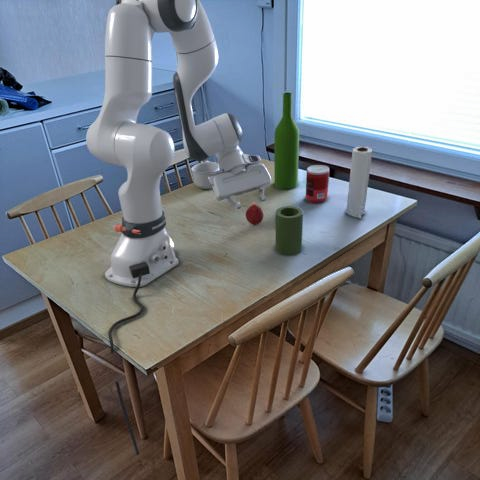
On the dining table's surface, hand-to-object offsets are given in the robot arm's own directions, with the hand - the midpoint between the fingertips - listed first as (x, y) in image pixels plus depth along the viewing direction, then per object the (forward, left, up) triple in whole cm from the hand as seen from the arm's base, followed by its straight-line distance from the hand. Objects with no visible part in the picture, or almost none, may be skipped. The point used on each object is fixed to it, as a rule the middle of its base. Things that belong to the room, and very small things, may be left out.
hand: (251, 204), depth 151 cm
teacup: (+24, +30, -7) cm, 39 cm away
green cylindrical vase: (-12, -18, -6) cm, 22 cm away
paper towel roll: (+19, -30, -7) cm, 36 cm away
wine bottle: (+34, +1, -7) cm, 34 cm away
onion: (-1, -2, -7) cm, 7 cm away
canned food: (+26, -14, -7) cm, 30 cm away
